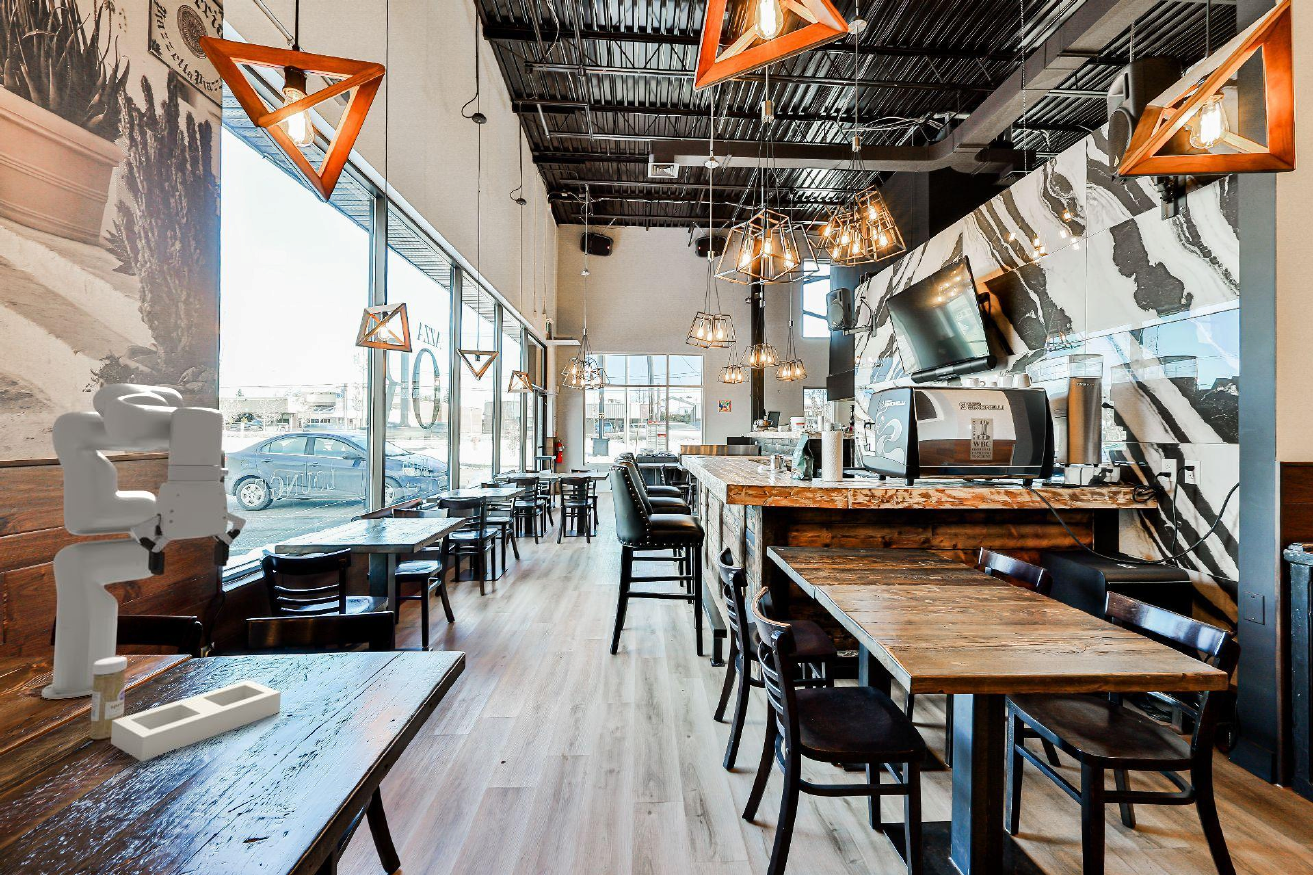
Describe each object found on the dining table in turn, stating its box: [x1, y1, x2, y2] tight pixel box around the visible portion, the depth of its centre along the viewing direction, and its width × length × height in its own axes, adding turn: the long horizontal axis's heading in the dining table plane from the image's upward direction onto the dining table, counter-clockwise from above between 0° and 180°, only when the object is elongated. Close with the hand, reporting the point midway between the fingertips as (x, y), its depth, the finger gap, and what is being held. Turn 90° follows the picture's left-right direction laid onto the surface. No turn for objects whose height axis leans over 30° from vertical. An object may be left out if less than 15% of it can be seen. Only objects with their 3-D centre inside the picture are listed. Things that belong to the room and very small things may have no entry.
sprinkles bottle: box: [89, 656, 128, 740], centre depth 106 cm, size 5×5×14 cm
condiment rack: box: [110, 680, 282, 762], centre depth 109 cm, size 12×22×4 cm, turn 152°
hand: (189, 569), depth 105 cm, fingers open, 9 cm apart
